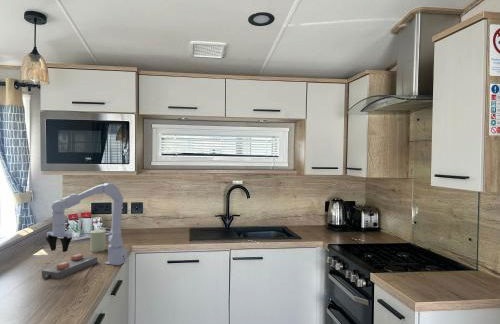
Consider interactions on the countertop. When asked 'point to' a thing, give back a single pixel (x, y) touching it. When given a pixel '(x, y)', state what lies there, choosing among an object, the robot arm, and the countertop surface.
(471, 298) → the countertop surface
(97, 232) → the can
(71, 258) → the switch
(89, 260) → the power strip
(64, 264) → the switch
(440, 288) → the countertop surface
